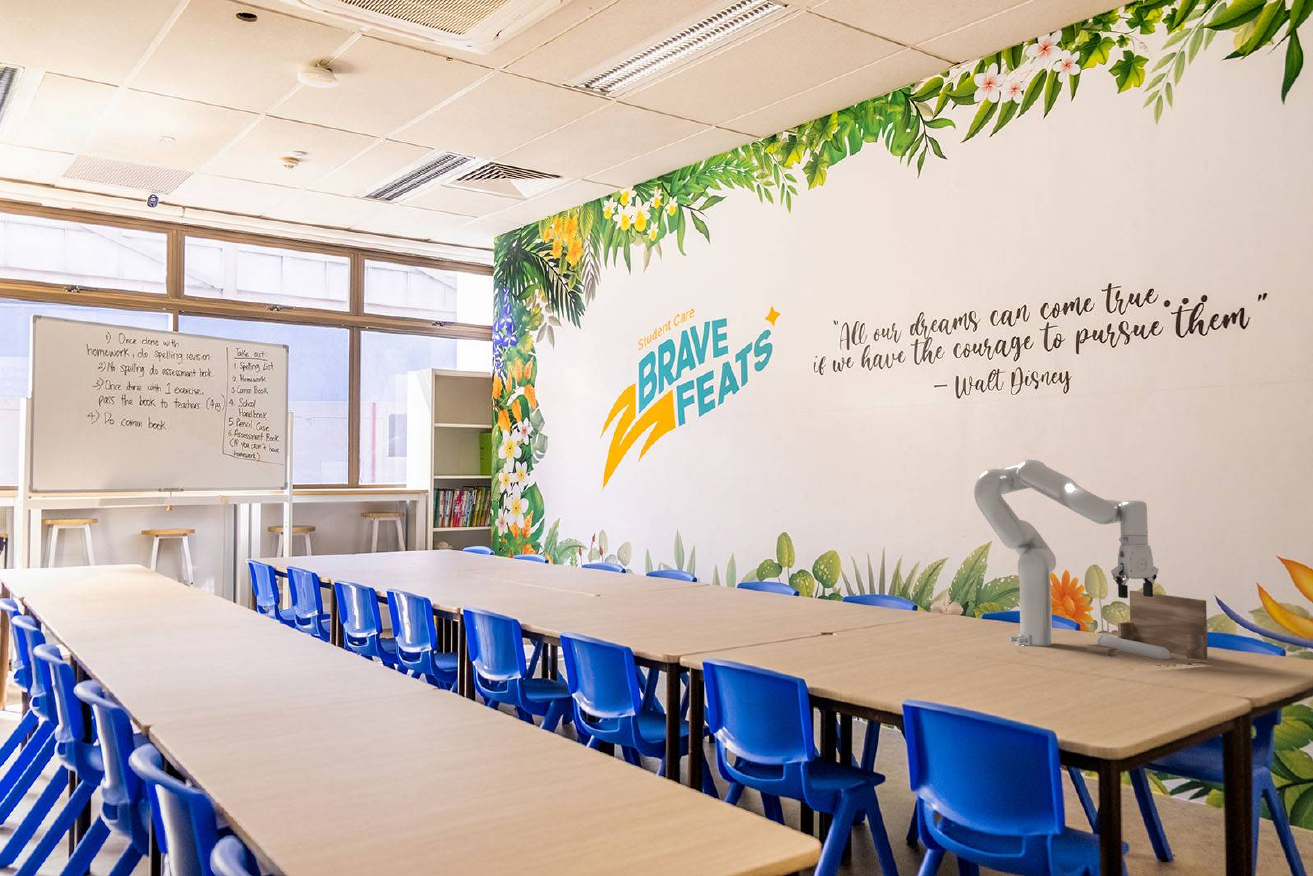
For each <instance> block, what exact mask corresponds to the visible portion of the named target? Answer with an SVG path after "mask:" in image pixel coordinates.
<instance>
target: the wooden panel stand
mask: <svg viewBox="0 0 1313 876" xmlns="http://www.w3.org/2000/svg"><path fill="white" fill-rule="evenodd" d="M1207 615H1208V614H1207V600H1205V599H1197V598H1190V597H1182V596H1176V595H1168V594H1160V593H1154V592H1153V597H1147V596H1144V595H1143V591H1139V590H1129V621H1125V622H1122V621H1121V622H1117V638H1121V639H1126V640H1131V641H1136V642H1141V643H1146V644H1150V645H1155V646H1160V647H1165V648H1166V649H1167V650H1168V651H1169V652H1170V655H1171V654H1172V655H1177V656H1183V657H1186V658H1187V659H1197V660H1201V661H1207V660H1208V628H1207V627H1208V626H1207V625H1208V623H1207V622H1208V620H1207V617H1208V616H1207Z"/></svg>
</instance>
